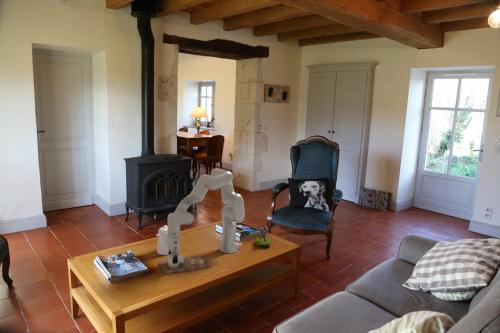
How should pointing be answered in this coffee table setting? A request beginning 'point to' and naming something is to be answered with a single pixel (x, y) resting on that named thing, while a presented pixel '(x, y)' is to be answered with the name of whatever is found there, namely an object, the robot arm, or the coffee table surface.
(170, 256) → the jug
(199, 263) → the board
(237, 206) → the robot arm
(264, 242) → the animal figurine
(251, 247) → the coffee table surface
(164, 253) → the coffeepot
